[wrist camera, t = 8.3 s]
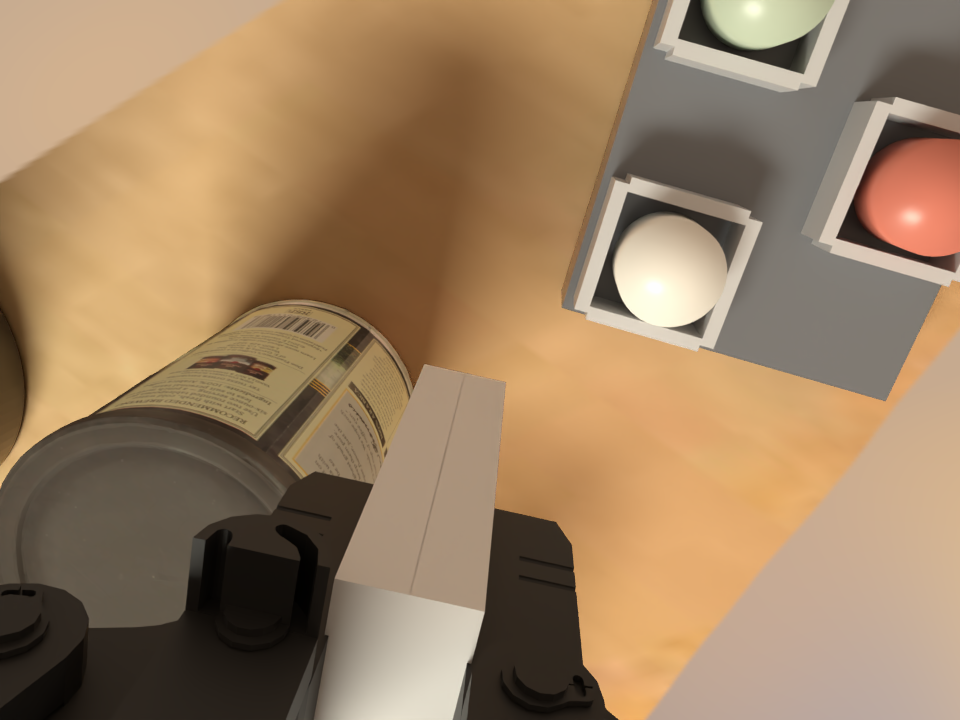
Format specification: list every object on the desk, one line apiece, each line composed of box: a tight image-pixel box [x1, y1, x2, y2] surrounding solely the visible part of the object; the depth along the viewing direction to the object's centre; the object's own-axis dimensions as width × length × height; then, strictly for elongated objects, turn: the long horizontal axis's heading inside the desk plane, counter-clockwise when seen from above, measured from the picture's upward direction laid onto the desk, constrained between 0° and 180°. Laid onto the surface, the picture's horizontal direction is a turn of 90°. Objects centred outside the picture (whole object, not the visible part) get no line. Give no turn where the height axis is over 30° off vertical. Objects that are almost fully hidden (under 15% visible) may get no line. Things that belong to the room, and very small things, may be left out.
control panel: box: [562, 0, 960, 401], centre depth 27 cm, size 13×15×5 cm
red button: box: [854, 137, 960, 257], centre depth 25 cm, size 4×4×2 cm
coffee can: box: [0, 300, 413, 628], centre depth 28 cm, size 10×10×14 cm
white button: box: [612, 211, 727, 327], centre depth 26 cm, size 4×4×2 cm
